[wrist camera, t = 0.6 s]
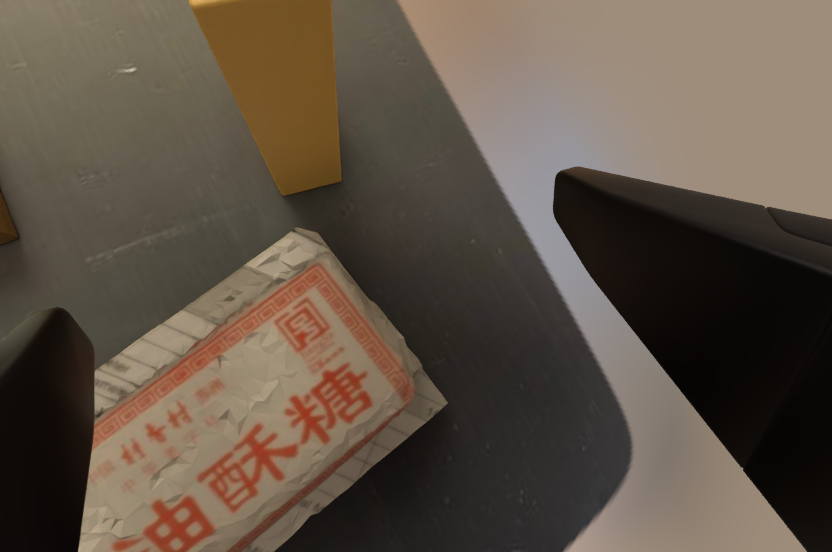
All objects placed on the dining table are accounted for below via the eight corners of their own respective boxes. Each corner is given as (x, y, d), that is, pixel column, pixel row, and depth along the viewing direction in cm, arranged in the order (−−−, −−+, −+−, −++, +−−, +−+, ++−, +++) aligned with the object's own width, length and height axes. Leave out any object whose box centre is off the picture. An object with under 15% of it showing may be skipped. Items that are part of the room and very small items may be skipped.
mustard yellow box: (341, 182, 23) (331, -19, 10) (281, 196, 22) (190, 7, 10) (313, 86, 23) (268, -225, 10) (253, 98, 23) (129, -210, 10)
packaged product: (299, 194, 18) (471, 416, 17) (310, 225, 22) (445, 399, 22) (-210, 548, 14) (-4, 825, 14) (-71, 496, 19) (85, 702, 19)
